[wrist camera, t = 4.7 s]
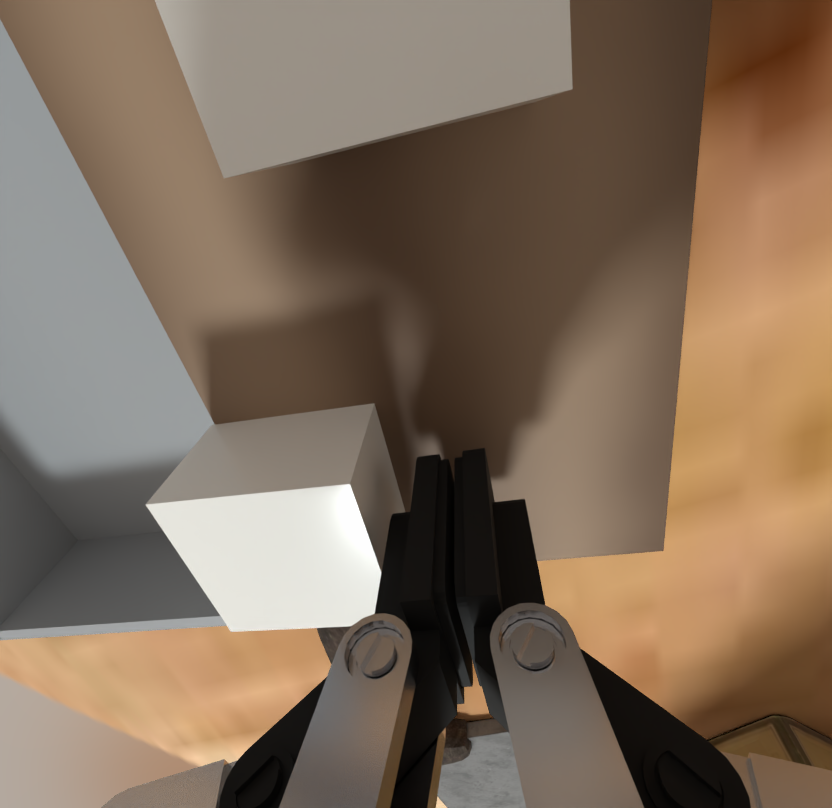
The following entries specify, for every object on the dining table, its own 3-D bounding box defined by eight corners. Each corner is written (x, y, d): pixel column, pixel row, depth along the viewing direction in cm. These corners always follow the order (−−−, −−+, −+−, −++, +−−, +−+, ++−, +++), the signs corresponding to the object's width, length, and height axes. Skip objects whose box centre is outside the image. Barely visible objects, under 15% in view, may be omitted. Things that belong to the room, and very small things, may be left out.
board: (657, -425, 7) (779, -761, 4) (629, 482, 16) (663, 551, 13) (26, -151, 9) (-150, -265, 6) (320, 515, 18) (297, 580, 15)
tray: (26, -151, 9) (-307, -367, 5) (320, 515, 18) (282, 621, 14) (-357, 15, 11) (-812, -49, 7) (83, 540, 20) (-8, 640, 16)
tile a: (374, 403, 11) (350, 484, 9) (410, 530, 13) (399, 623, 11) (212, 424, 12) (145, 504, 9) (271, 541, 14) (231, 631, 12)
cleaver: (276, 589, 21) (259, 632, 19) (477, 545, 18) (479, 591, 17) (477, 820, 35) (479, 857, 33) (608, 813, 32) (617, 854, 30)
